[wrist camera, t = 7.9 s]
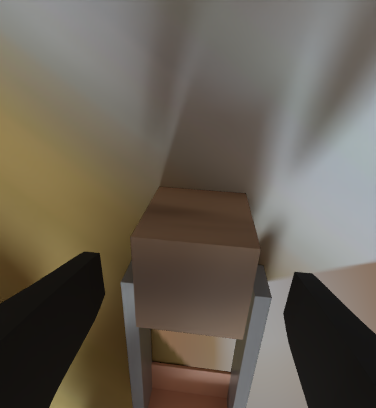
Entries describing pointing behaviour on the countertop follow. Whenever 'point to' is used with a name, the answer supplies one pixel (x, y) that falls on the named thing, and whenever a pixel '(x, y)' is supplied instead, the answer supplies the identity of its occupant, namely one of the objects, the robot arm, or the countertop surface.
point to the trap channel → (192, 376)
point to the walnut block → (195, 262)
